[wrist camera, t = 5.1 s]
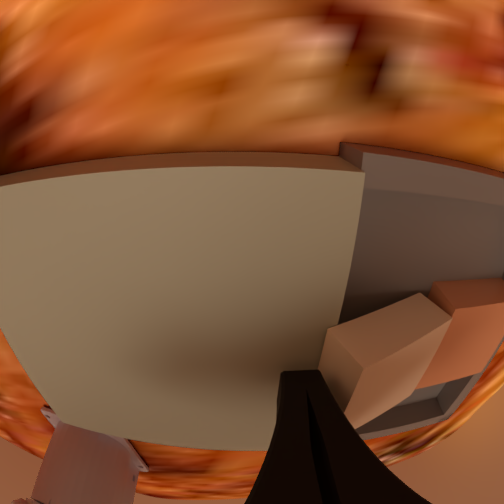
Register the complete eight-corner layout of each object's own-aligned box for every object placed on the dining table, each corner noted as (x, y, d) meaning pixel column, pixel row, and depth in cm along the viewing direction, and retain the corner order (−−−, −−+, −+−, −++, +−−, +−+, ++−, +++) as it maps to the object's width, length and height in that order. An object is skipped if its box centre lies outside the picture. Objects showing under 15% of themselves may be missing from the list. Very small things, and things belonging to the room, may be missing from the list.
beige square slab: (295, 415, 16) (299, 449, 14) (74, 394, 16) (62, 422, 14) (339, 156, 9) (365, 172, 7) (-11, 178, 9) (-47, 196, 7)
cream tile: (387, 370, 13) (410, 395, 12) (306, 409, 12) (328, 442, 10) (419, 292, 11) (452, 317, 10) (327, 328, 9) (363, 368, 8)
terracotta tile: (466, 348, 14) (481, 371, 12) (400, 361, 13) (413, 389, 12) (500, 277, 11) (522, 299, 9) (433, 281, 11) (455, 309, 9)
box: (437, 396, 17) (448, 419, 15) (294, 419, 17) (297, 448, 15) (530, 181, 9) (559, 196, 7) (340, 141, 9) (363, 152, 7)
